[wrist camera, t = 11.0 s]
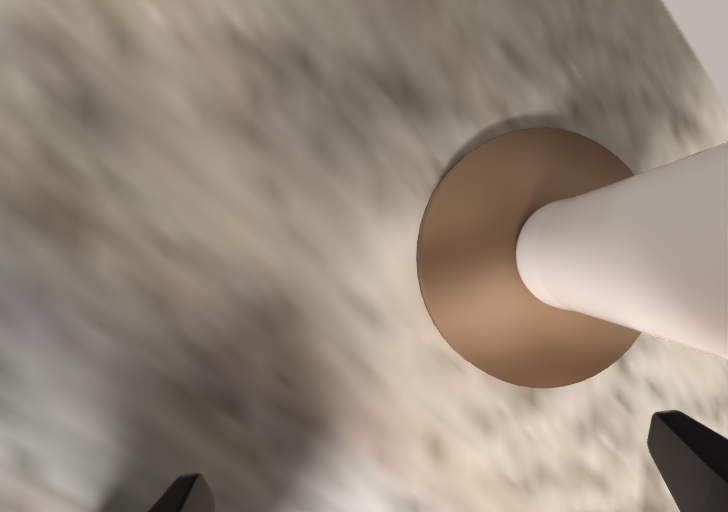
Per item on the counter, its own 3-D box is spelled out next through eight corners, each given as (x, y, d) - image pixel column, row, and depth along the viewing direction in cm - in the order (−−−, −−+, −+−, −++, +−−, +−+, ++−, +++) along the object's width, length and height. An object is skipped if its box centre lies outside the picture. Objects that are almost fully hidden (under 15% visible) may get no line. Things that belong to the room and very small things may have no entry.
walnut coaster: (660, 358, 23) (677, 363, 22) (435, 404, 21) (441, 411, 20) (630, 123, 23) (645, 117, 22) (400, 145, 21) (405, 140, 20)
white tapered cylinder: (631, 205, 22) (1334, 90, 7) (606, 334, 22) (1283, 498, 7) (511, 172, 21) (1036, -42, 6) (483, 307, 21) (962, 431, 6)
